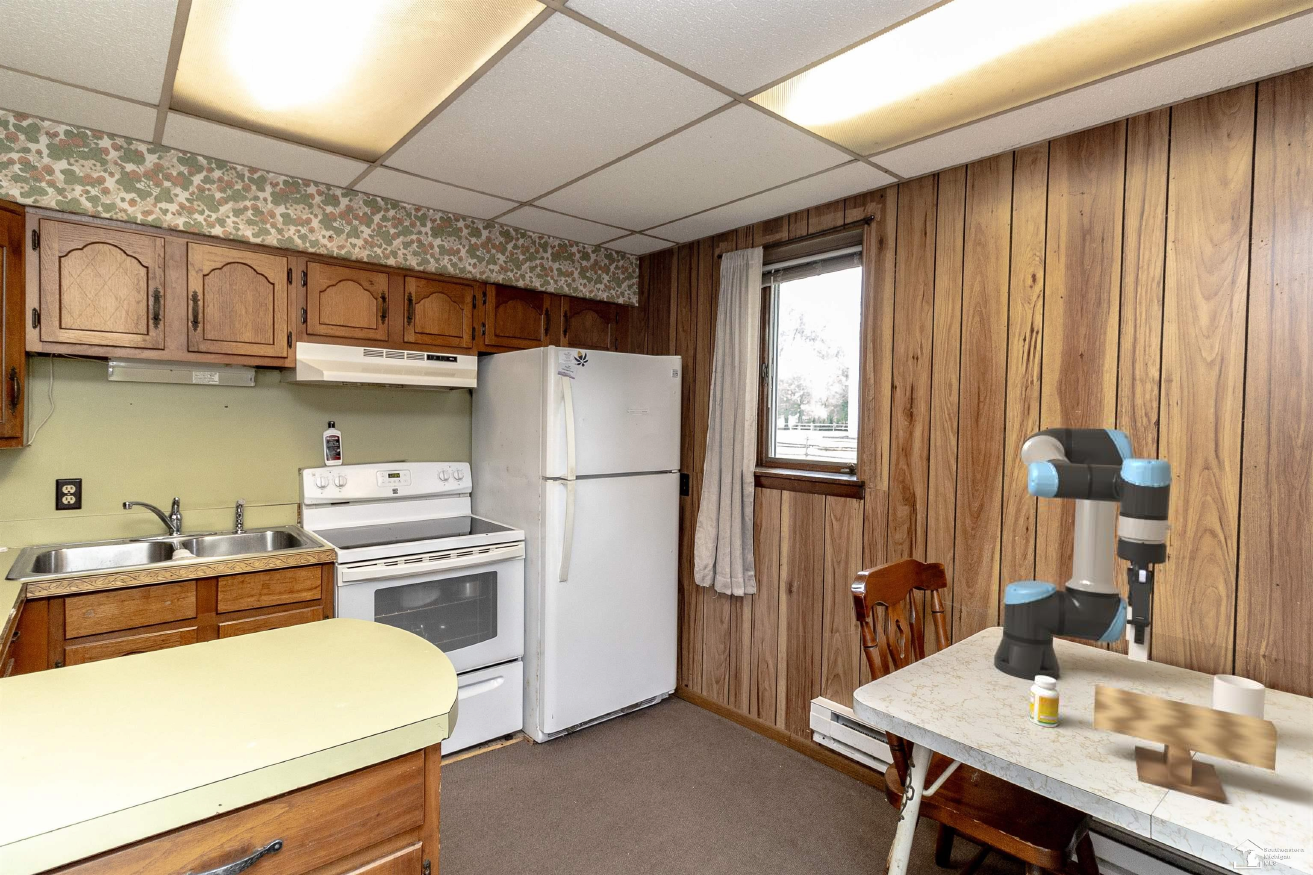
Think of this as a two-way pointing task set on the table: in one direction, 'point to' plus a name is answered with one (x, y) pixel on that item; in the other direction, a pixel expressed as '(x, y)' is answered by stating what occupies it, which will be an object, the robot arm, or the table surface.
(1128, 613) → the robot arm
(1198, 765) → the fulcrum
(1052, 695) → the supplement bottle
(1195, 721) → the plank
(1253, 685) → the mug
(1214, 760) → the table surface
